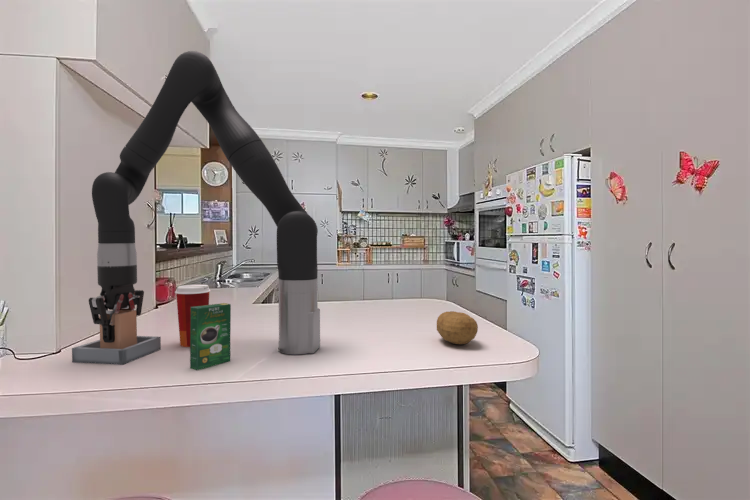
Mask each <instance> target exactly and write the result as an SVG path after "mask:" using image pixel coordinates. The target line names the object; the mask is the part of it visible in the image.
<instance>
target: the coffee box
mask: <svg viewBox="0 0 750 500" xmlns="http://www.w3.org/2000/svg"><path fill="white" fill-rule="evenodd" d="M231 306H232V305H231V303H228V302H223V303H222V302H220V303H214V304H213V303H212V304H209V305H204V306H195V307H191V325H190V326H191V327H190V347H189V354H190V356H189V363H190V364H189V367H190V369H191V370H195V371H200V370H205V369H207V368H211V367H214V366H217V365H221V364H225V363H229V362H231V321H232V320H231V317H232V314H231V309H232V308H231Z"/></svg>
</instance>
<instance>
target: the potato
mask: <svg viewBox="0 0 750 500" xmlns="http://www.w3.org/2000/svg"><path fill="white" fill-rule="evenodd" d="M478 329H479V326H478V323H477V321H476V320H475V318H473V317H472V316H470V315H469V314H467V313H465V312H460V311H459V312H458V311H454V310H453V311H452V310H451V311H444V312H442V313H441V314H439V316H438V317H437V319H436V331H437V333H438V334H439V336H440V337H441V338H442V340H445V341H446V342H449V343H451V344H452V345H467V344H468V343H469V342H471V341H472V340H474V339H475V338H476V336H477V334H478Z"/></svg>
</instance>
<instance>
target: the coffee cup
mask: <svg viewBox="0 0 750 500" xmlns="http://www.w3.org/2000/svg"><path fill="white" fill-rule="evenodd" d="M210 292H212V290H211V289H210V286H209V285H208V284H185V285H183V284H182V285H179V286H177V287H176V290H175V291H174V293H175V294H176V306H177V309H176V310H177V320H178V331H179V333H178V334H179V344H180V346H181V347H183V348H185V347H186V348H190V327H191V326H190V325H191V307H195V306H204V305H210Z"/></svg>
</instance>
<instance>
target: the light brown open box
mask: <svg viewBox="0 0 750 500" xmlns="http://www.w3.org/2000/svg"><path fill="white" fill-rule="evenodd" d="M99 318H101V317H100V315H99ZM107 318H108V319H109V318H110V314H108V315H107ZM137 324H138V322H137V316H136V309H134V310H132V311H123V310H120V311H119V314H116V315H115V323H114V325H115V341H114V342H112V343H106V342H104V340H103V331H102V325H99V340H100V348H110V349H124V348H126V347H129V346H132V345H135V344H137V336H138V330H137V327H138V326H137Z"/></svg>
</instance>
